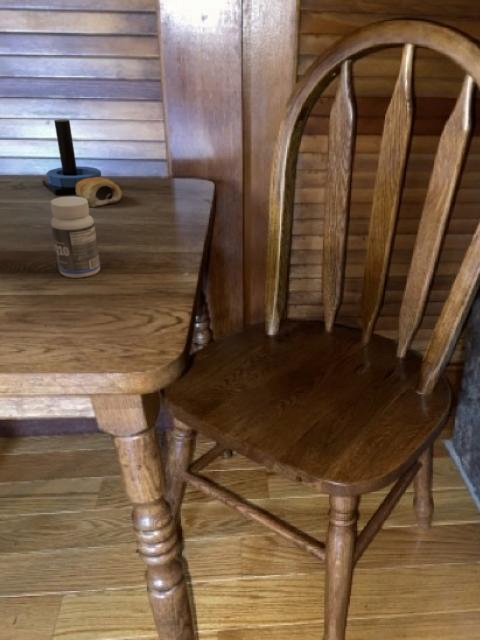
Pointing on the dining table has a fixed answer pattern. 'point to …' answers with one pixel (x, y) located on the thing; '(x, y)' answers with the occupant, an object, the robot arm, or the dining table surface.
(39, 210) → the dining table surface
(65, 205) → the pill bottle
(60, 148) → the black upright rod
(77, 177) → the ring
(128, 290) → the dining table surface
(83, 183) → the pastry
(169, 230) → the dining table surface
